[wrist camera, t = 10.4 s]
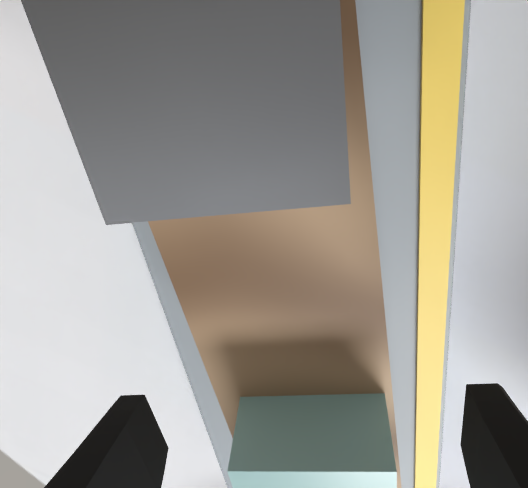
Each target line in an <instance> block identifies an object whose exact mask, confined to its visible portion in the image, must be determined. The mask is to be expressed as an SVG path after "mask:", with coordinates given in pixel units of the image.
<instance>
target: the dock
mask: <svg viewBox="0 0 528 488" xmlns="http://www.w3.org/2000/svg"><path fill="white" fill-rule="evenodd" d="M355 3H356V13H357V24H358V35H359V45H360V56H361V66H362V77H363V87H364V98H365V108H366V119H367V129H368V140H369V150H370V161H371V171H372V182H373V192H374V203H375V213H376V224H377V235H378V245H379V256H380V266H381V277H382V287H383V298H384V308H385V319H386V329H387V340H388V350H389V361H390V371H391V382H392V392H393V403H394V413H395V424H396V435H397V445H398V456H399V466H400V477H401V487H402V488H439V482H440V467H441V451H442V436H443V421H444V406H445V390H446V375H447V360H448V344H449V329H450V314H451V298H452V283H453V268H454V252H455V237H456V222H457V206H458V191H459V176H460V161H461V145H462V130H463V115H464V99H465V84H466V69H467V53H468V38H469V23H470V7H471V0H355ZM132 224H133V227H134V229H135V232H136V235H137V238H138V241H139V243H140V246H141V249H142V252H143V254H144V257H145V260H146V263H147V266H148V268H149V271H150V274H151V277H152V279H153V282H154V285H155V288H156V290H157V293H158V296H159V299H160V302H161V304H162V307H163V310H164V313H165V315H166V318H167V321H168V324H169V327H170V329H171V332H172V335H173V338H174V340H175V343H176V346H177V349H178V351H179V354H180V357H181V360H182V363H183V365H184V368H185V371H186V374H187V376H188V379H189V382H190V385H191V388H192V390H193V393H194V396H195V399H196V401H197V404H198V407H199V410H200V412H201V415H202V418H203V421H204V424H205V426H206V429H207V432H208V435H209V437H210V440H211V443H212V446H213V449H214V451H215V454H216V457H217V460H218V462H219V465H220V468H221V471H222V473H223V476H224V479H225V482H226V485H227V487H228V488H233V487H232V484H231V481H230V478H229V475H228V472H227V471H228V465H229V459H230V453H231V447H232V442H233V438H232V435H231V433H230V430H229V428H228V425H227V422H226V420H225V417H224V415H223V412H222V410H221V407H220V405H219V402H218V399H217V397H216V394H215V392H214V389H213V387H212V384H211V382H210V379H209V376H208V374H207V371H206V369H205V366H204V364H203V361H202V359H201V356H200V353H199V351H198V348H197V346H196V343H195V341H194V338H193V336H192V333H191V330H190V328H189V325H188V323H187V320H186V318H185V315H184V313H183V310H182V307H181V305H180V302H179V300H178V297H177V295H176V292H175V290H174V287H173V284H172V282H171V279H170V277H169V274H168V272H167V269H166V267H165V264H164V261H163V259H162V256H161V254H160V251H159V249H158V246H157V244H156V241H155V239H154V236H153V233H152V231H151V228H150V226H149V223H148V221H145V222H134V223H132Z"/></svg>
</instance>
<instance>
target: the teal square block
mask: <svg viewBox="0 0 528 488" xmlns="http://www.w3.org/2000/svg"><path fill="white" fill-rule="evenodd" d="M227 472H228V475H229V478H230V481H231V484H232V487H233V488H397V470H396V464H395V457H394V451H393V444H392V438H391V431H390V425H389V418H388V411H387V405H386V398H385V393H376V394H336V395H296V396H256V397H240V401H239V407H238V413H237V418H236V424H235V430H234V436H233V442H232V447H231V453H230V459H229V465H228V471H227Z"/></svg>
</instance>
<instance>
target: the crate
mask: <svg viewBox="0 0 528 488" xmlns="http://www.w3.org/2000/svg"><path fill="white" fill-rule="evenodd" d="M21 1H22V4H23V7H24V9H25V12H26V15H27V17H28V20H29V23H30V25H31V28H32V30H33V33H34V36H35V38H36V41H37V44H38V46H39V49H40V52H41V54H42V57H43V60H44V62H45V65H46V67H47V70H48V73H49V75H50V78H51V81H52V83H53V86H54V89H55V91H56V94H57V97H58V99H59V102H60V104H61V107H62V110H63V112H64V115H65V118H66V120H67V123H68V126H69V128H70V131H71V133H72V136H73V139H74V141H75V144H76V147H77V149H78V152H79V155H80V157H81V160H82V163H83V165H84V168H85V170H86V173H87V176H88V178H89V181H90V184H91V186H92V189H93V192H94V194H95V197H96V200H97V202H98V205H99V207H100V210H101V213H102V215H103V218H104V221H105V223H106V225H110V224H122V223H134V222H145V221H157V220H169V219H181V218H192V217H204V216H216V215H228V214H239V213H251V212H263V211H275V210H286V209H298V208H310V207H322V206H333V205H345V204H351V197H350V178H349V160H348V141H347V122H346V104H345V85H344V67H343V48H342V29H341V11H340V0H21Z"/></svg>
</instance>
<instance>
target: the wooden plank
mask: <svg viewBox="0 0 528 488" xmlns="http://www.w3.org/2000/svg"><path fill="white" fill-rule="evenodd" d="M340 11H341V29H342V48H343V67H344V85H345V104H346V122H347V141H348V160H349V178H350V197H351V204H345V205H333V206H322V207H310V208H298V209H286V210H275V211H263V212H251V213H239V214H228V215H216V216H204V217H192V218H181V219H169V220H157V221H148V223H149V226H150V228H151V231H152V233H153V236H154V239H155V241H156V244H157V246H158V249H159V251H160V254H161V256H162V259H163V261H164V264H165V267H166V269H167V272H168V274H169V277H170V279H171V282H172V284H173V287H174V290H175V292H176V295H177V297H178V300H179V302H180V305H181V307H182V310H183V313H184V315H185V318H186V320H187V323H188V325H189V328H190V330H191V333H192V336H193V338H194V341H195V343H196V346H197V348H198V351H199V353H200V356H201V359H202V361H203V364H204V366H205V369H206V371H207V374H208V376H209V379H210V382H211V384H212V387H213V389H214V392H215V394H216V397H217V399H218V402H219V405H220V407H221V410H222V412H223V415H224V417H225V420H226V422H227V425H228V428H229V430H230V433H231V435H232V438H233V436H234V430H235V424H236V418H237V413H238V407H239V401H240V397H256V396H296V395H336V394H376V393H385V398H386V405H387V411H388V418H389V425H390V431H391V438H392V444H393V451H394V457H395V464H396V470H397V488H402V487H401V477H400V466H399V456H398V445H397V435H396V424H395V413H394V403H393V392H392V382H391V371H390V361H389V350H388V340H387V329H386V319H385V308H384V298H383V287H382V277H381V266H380V256H379V245H378V235H377V224H376V213H375V203H374V192H373V182H372V171H371V161H370V150H369V140H368V129H367V119H366V108H365V98H364V87H363V77H362V66H361V56H360V45H359V35H358V24H357V13H356V3H355V0H340Z"/></svg>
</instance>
